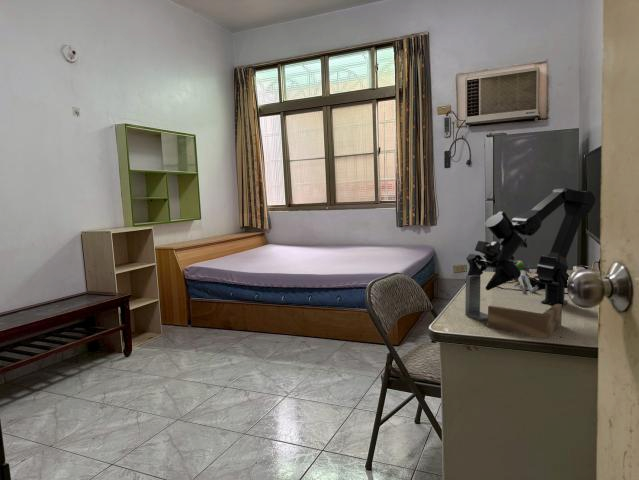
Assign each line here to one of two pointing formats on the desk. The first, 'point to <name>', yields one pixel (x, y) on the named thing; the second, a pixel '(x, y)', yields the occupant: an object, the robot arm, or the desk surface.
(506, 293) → the desk surface
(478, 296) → the bracket
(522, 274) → the toy
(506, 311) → the walls
